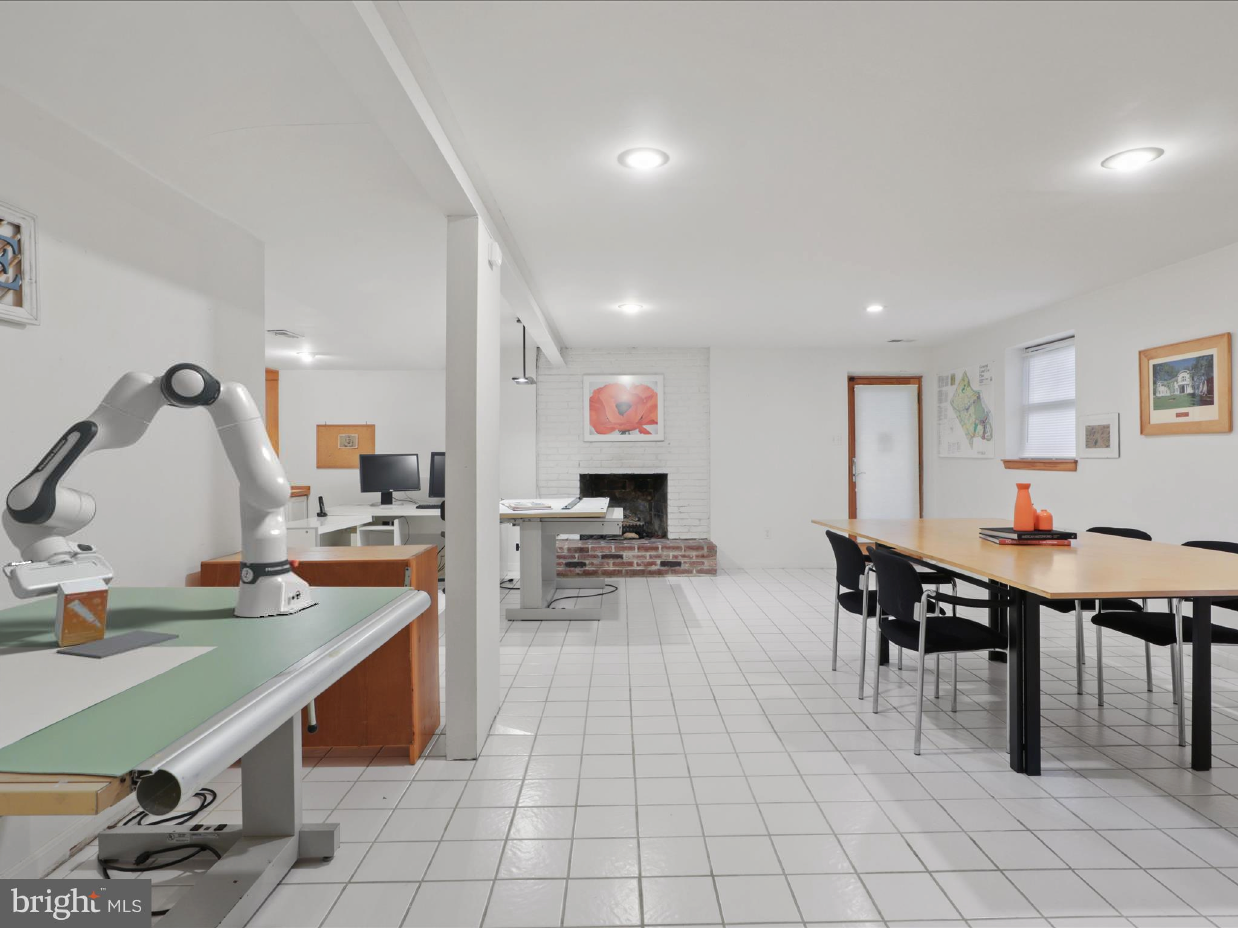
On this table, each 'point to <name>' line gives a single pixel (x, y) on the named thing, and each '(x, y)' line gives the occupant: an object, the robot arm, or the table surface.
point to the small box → (81, 611)
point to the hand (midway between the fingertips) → (80, 602)
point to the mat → (117, 644)
